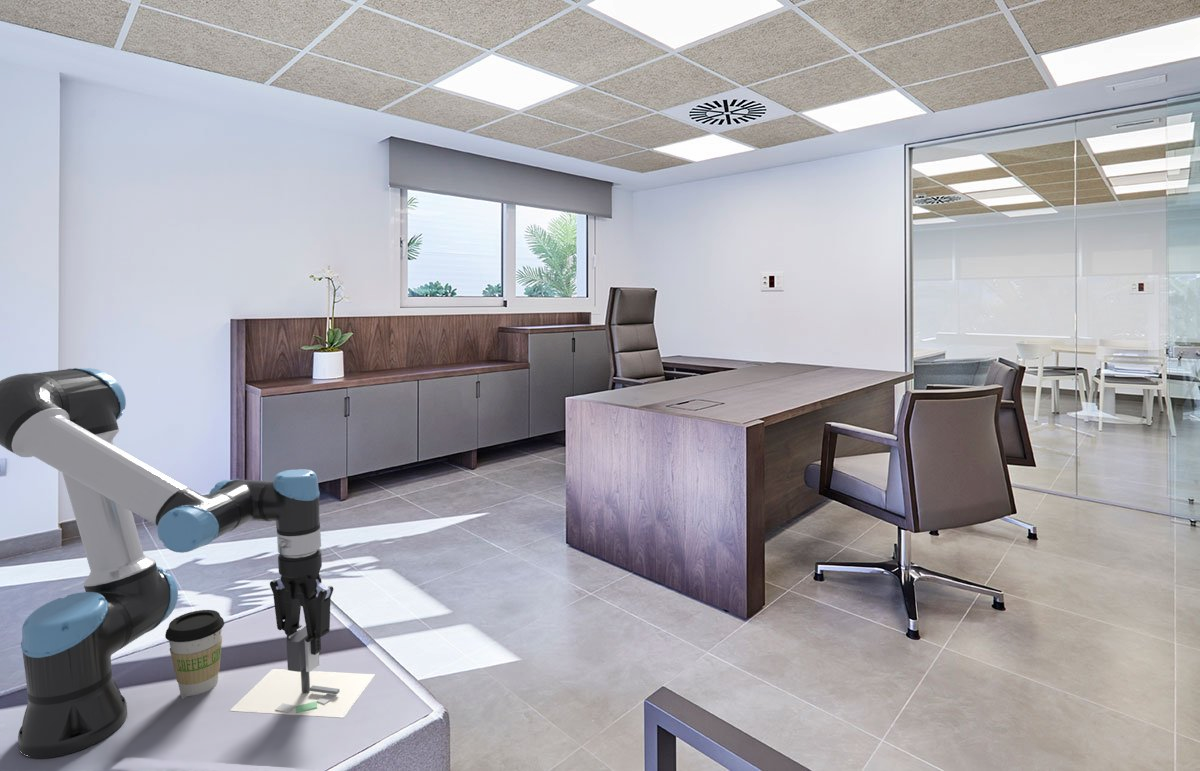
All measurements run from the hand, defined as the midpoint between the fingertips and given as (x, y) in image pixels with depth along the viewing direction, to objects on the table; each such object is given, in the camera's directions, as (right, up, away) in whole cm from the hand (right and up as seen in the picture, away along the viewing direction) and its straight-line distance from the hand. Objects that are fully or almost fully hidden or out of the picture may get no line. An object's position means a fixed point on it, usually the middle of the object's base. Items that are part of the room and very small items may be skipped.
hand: (304, 666), depth 124 cm
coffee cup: (-22, -6, +2) cm, 23 cm away
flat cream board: (0, -6, +1) cm, 7 cm away
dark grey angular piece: (+3, -5, 0) cm, 6 cm away
